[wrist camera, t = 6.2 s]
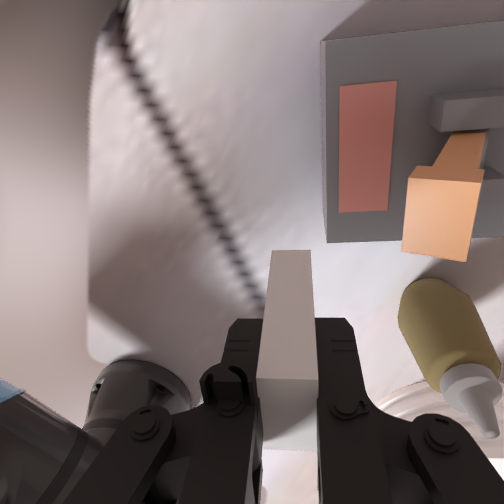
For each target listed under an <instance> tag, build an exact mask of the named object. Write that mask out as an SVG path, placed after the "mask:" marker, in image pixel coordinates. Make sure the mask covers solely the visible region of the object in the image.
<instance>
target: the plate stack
mask: <svg viewBox="0 0 504 504" xmlns="http://www.w3.org/2000/svg"><path fill="white" fill-rule="evenodd" d="M499 383H500V385H501V387H502V397H501V399H500V400H499V402H498V403H497V404H496V405H495V406H494V409H495V413H496V418H497V422H498V426H499V431H500V435H499V436H498V437H497V438H494V439H488V438H485V437H484V435H483V434H482V433H481V431H480V430H479V429H478V427H477V426H476V425H475V423H474V422H473V420H472V419H471V418H470V416H469V415H468V414H467V413H464V412H459V411H456V410H454V409H452V408H451V407H449V406H448V404H447V403H446V402H445V400H444V397H443V395H442V394H441V393H439V392H437V391H435V390H434V389H432V388H431V387H430V385H429V384H428V383H427V381H423V382H419V383H416V384H412V385H409V386H406V387H403V388H401V389H399V390H396V391H394V392H392V393H390V394H388V395H386V396H385V397H383V398H381V399H380V400H378V401H377V402H376V403H374V405H375V406H376V407H377V408H379V409H380V410H382V411H383V412H385V413H387V414H390V415H392V416H394V417H398V418H401V419H404V420H407V421H411V422H412V421H413V420H414V419H415V418H416V417H417V416H420V415H422V414H425V413H437V414H440V415H444V416H447V417H450V418H451V419H453V420H455V421H456V422H458V423H460V424H461V425H462V426H463V427H464V428H465V429H466V430H467V431H468V432H469V433H470V435H471V436H472V437H473V439H474V440H475V441H476V443H477V444H478V446H479V447H480V448H481V450H482V451H483V453H484V454H485V455H486V457H487V458H488V459H489V461H490V462H491V464H492V465H493V466H494V468H495V469H496V471H497V472H498V473H499V475H500V476H501V477H502V479H503V480H504V383H501V382H499Z"/></svg>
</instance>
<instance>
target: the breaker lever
mask: <svg viewBox="0 0 504 504" xmlns="http://www.w3.org/2000/svg"><path fill="white" fill-rule="evenodd" d="M489 134H490V128H487V129H474V130H461V131H451V136H450V138H449V140H448V141H447V143H446V144H445V146H444V148H443V149H442V151H441V153H440V154H439V156H438V158H437V159H436V161H435V163H434V164H433V166H416V168H415V169H414V171H413V172H412V173H411V175H410V176H409V178H408V187H407V197H406V207H405V217H404V227H403V238H402V248H401V252H407V253H413V254H419V255H425V256H431V257H437V258H443V259H449V260H455V261H461V262H466V259H467V255H468V251H469V247H470V242H471V237H472V232H473V227H474V222H475V217H476V211H477V206H478V201H479V196H480V191H481V186H482V181H483V176H484V171H485V169H483V165H484V160H485V155H486V149H487V144H488V139H489Z"/></svg>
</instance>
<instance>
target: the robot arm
mask: <svg viewBox="0 0 504 504" xmlns="http://www.w3.org/2000/svg"><path fill="white" fill-rule="evenodd" d="M200 386H201V391H202V396H203V401H204V403H203V404H201V405H199V406H198V407H196V408H193V409H190V407H191V398H190V395H189V392H188V390H187V388H186V387H185V385H184V384H183V383H182V382H181V381H180V380H179V379H178V378H177V377H176V376H175V375H174V374H172V373H171V372H169V371H168V370H166V369H164V368H162V367H160V366H158V365H155V364H152V363H148V362H144V361H137V360H125V361H119V362H116V363H113V364H111V365H109V366H107V367H106V368H105V369H104V370H103V371H102V372H101V373H100V375H99V376H98V378H97V380H96V381H95V383H94V385H93V388H92V390H91V395H90V400H89V405H88V410H87V415H86V420H85V424H84V426H83V428H82V429H81V428H79V427H77V426H76V425H74V424H73V423H71V422H70V421H68V420H67V419H65V418H64V417H62V416H61V415H59V414H58V413H56V412H55V411H53V410H52V409H50V408H49V407H47V406H45V405H44V404H43V403H41V402H40V401H38V400H37V399H35V398H34V397H32V396H30V395H29V394H28V393H26V390H24V389H19V388H17V387H15V386H13V385H12V384H10V383H8V382H6V381H5V380H3V379H1V378H0V504H260V497H261V485H262V472H263V468H262V459H261V457H262V446H263V449H271V450H291V451H312V452H317V455H318V491H319V504H504V480H503V479H502V477H501V476H500V475H499V473H498V472H497V471H496V469H495V468H494V466H493V465H492V464H491V462H490V461H489V459H488V458H487V457H486V455H485V454H484V453H483V451H482V450H481V448H480V447H479V446H478V444H477V443H476V441H475V440H474V439H473V437H472V436H471V435H470V433H469V432H468V431H467V430H466V429H465V428H464V427H463V426H462V425H461V424H460V423H458V422H456V421H455V420H453V419H451V418H450V417H447V416H444V415H440V414H437V413H425V414H422V415H420V416H417V417H416V418H415V419H414V420H413V421H412V422H411V421H407V420H404V419H401V418H398V417H394V416H392V415H390V414H387V413H385V412H383V411H382V410H380V409H379V408H377V407H376V406H375V405H374V404H373V403H372V402H371V400H370V399H369V397H368V396H367V393H366V390H365V386H364V381H363V375H362V370H361V365H360V360H359V355H358V350H357V345H356V340H355V335H354V330H353V327H352V326H351V325H350V324H349V323H348V321H347V320H346V319H345V318H315V317H314V300H313V284H312V268H311V252H310V250H277V251H272V255H271V263H270V271H269V279H268V287H267V295H266V303H265V311H264V319H237V320H236V321H235V322H234V323H233V325H232V326H231V327H230V328H229V331H228V335H227V339H226V344H225V348H224V352H223V356H222V360H221V363H219V364H217V365H214V366H212V367H210V368H209V369H208V370H207V371H206V372H205V373H204V374H203V375H202V377H201V379H200Z"/></svg>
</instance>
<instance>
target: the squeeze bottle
mask: <svg viewBox="0 0 504 504" xmlns="http://www.w3.org/2000/svg"><path fill="white" fill-rule="evenodd" d="M398 323H399V328H400V330H401V332H402V334H403V336H404V338H405V340H406V342H407V344H408V346H409V348H410V350H411V352H412V354H413V356H414V358H415V360H416V362H417V364H418V366H419V368H420V370H421V372H422V374H423V376H424V378H425V380H426V381H427V383H428V384H429V385H430V387H431V388H432V389H434V390H435V391H437V392H439V393H441V394H442V395H443V397H444V400H445V402H446V403H447V404H448V406H449V407H451V408H452V409H454V410H456V411H459V412H464V413H467V414H468V415H469V416H470V418H471V419H472V420H473V422H474V423H475V425H476V426H477V427H478V429H479V430H480V431H481V433H482V434H483V435H484V437H485V438H488V439H494V438H497V437H498V436H499V435H500V431H499V426H498V422H497V418H496V413H495V409H494V406H495V405H496V404H497V403H498V402H499V400H500V399H501V397H502V387H501V385H500V383H499V382H498V380H497V378H498V377H499V375H500V370H501V363H500V361H499V359H498V356H497V354H496V352H495V350H494V347H493V345H492V343H491V341H490V339H489V336H488V334H487V332H486V330H485V327H484V325H483V323H482V321H481V318H480V316H479V314H478V312H477V310H476V307H475V305H474V304H473V302H472V301H471V299H470V297H469V296H468V295H466V294H465V293H463V292H461V291H460V290H458V289H456V288H455V287H453V286H451V285H450V284H448V283H446V282H445V281H443V280H441V279H436V278H425V279H420V280H418V281H416V282H414V283H412V284H410V285H409V286H408V287H407V288H406V289H405V290H404V292H403V295H402V297H401V301H400V307H399V312H398Z"/></svg>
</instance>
